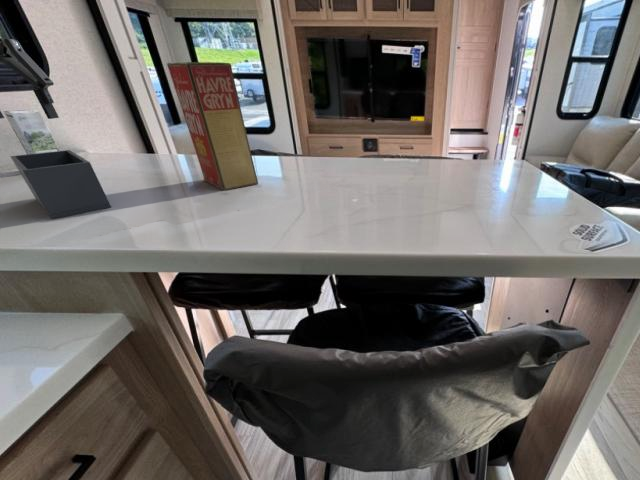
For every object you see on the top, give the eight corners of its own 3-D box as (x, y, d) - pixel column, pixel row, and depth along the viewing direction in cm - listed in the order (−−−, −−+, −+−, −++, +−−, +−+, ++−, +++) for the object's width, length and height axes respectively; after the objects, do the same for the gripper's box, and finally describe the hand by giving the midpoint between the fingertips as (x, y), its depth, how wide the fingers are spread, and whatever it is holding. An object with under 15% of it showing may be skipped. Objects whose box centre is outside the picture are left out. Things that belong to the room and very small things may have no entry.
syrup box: (60, 165, 98) (30, 109, 90) (69, 168, 95) (39, 110, 87) (35, 169, 94) (1, 110, 85) (44, 172, 91) (10, 111, 83)
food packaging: (201, 180, 87) (164, 61, 72) (237, 174, 92) (209, 63, 78) (222, 191, 79) (185, 61, 65) (260, 183, 84) (233, 62, 70)
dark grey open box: (36, 199, 72) (10, 156, 67) (90, 190, 78) (69, 149, 73) (51, 219, 63) (22, 170, 58) (111, 207, 69) (89, 162, 64)
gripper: (39, 15, 79) (86, 116, 91) (-75, 13, 78) (-12, 117, 90) (11, 10, 73) (65, 119, 85) (-113, 8, 72) (-40, 120, 84)
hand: (26, 118), depth 87 cm, fingers open, 13 cm apart
